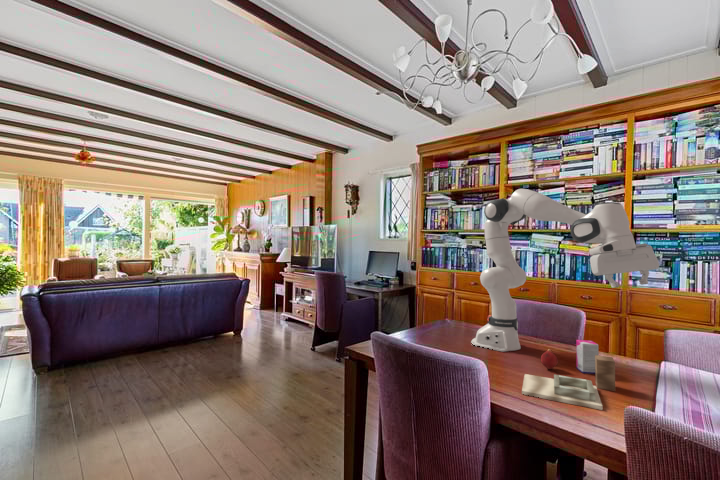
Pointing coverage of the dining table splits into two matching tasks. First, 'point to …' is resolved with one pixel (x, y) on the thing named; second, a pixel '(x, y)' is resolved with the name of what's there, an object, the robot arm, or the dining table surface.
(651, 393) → the dining table surface
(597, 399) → the socket stand
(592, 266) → the robot arm
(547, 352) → the onion
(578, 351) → the supplement box
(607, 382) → the walnut peg
